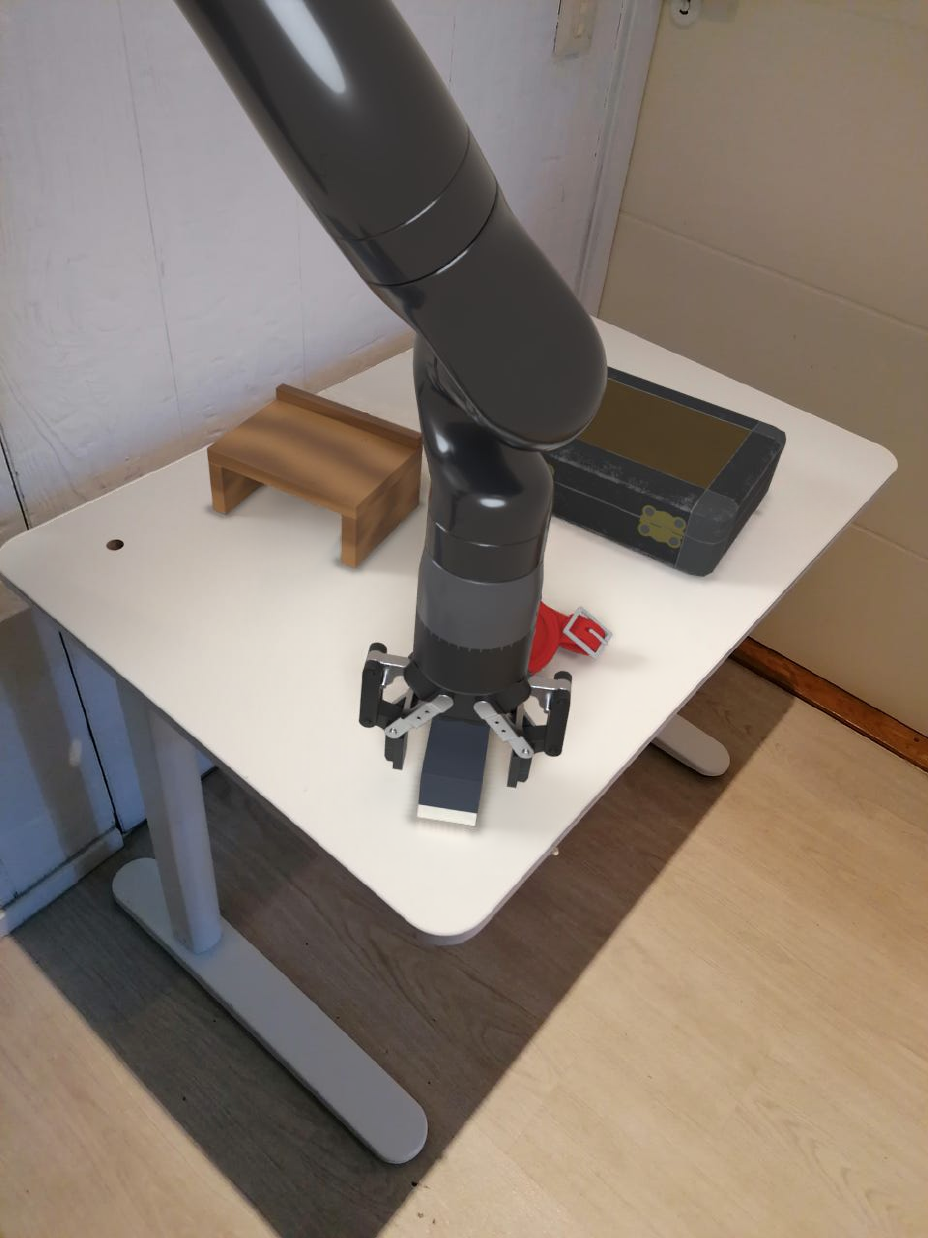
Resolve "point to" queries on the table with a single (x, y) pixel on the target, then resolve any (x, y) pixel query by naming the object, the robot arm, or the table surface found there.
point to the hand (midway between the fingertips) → (456, 769)
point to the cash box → (665, 473)
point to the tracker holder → (565, 636)
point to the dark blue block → (453, 771)
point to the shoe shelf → (323, 465)
